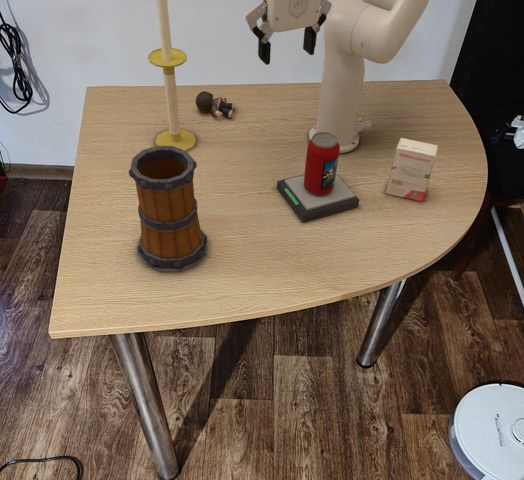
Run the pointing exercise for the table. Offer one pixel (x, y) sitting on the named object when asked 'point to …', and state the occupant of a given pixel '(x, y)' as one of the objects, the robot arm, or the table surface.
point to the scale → (316, 198)
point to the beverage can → (321, 163)
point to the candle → (170, 83)
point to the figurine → (214, 104)
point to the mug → (167, 209)
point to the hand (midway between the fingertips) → (286, 56)
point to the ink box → (411, 169)
